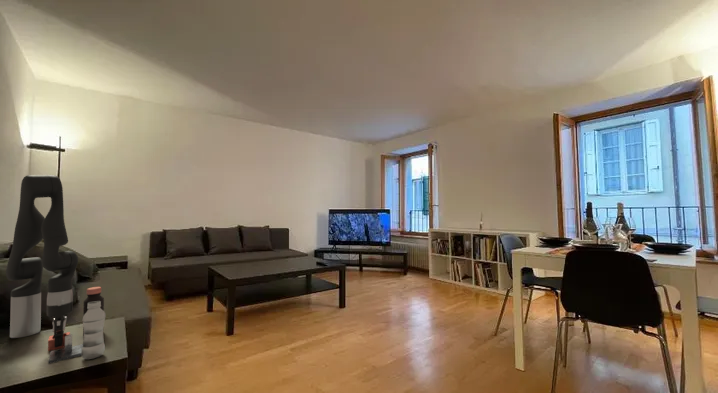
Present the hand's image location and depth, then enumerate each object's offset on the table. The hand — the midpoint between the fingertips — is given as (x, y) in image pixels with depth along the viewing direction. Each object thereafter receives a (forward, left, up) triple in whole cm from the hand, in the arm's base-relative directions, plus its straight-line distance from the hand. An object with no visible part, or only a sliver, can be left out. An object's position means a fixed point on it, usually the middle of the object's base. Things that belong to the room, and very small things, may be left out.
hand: (59, 342), depth 124 cm
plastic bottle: (+22, +10, -2) cm, 24 cm away
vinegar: (-6, +10, -2) cm, 12 cm away
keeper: (+12, +3, -1) cm, 12 cm away
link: (0, 0, -1) cm, 1 cm away
